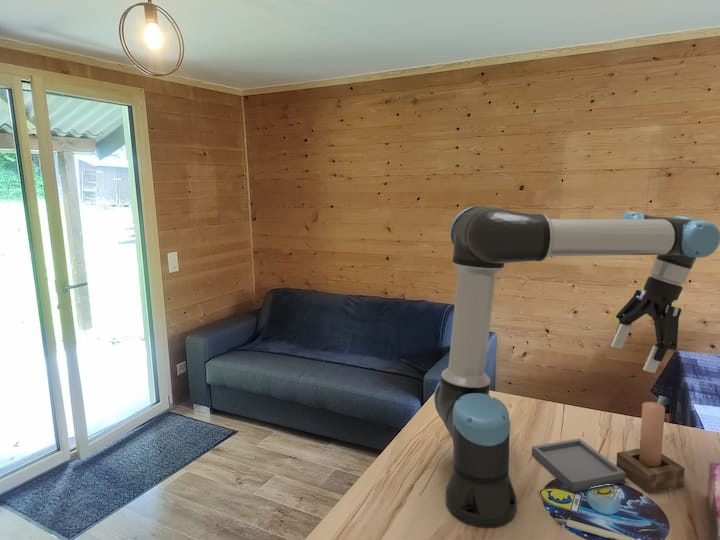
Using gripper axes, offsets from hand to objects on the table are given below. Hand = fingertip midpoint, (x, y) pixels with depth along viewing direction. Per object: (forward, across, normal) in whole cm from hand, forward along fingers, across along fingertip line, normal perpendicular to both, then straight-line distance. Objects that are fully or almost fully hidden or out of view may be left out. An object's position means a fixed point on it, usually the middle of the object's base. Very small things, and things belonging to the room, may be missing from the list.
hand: (631, 358), depth 121 cm
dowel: (+23, -14, -5) cm, 28 cm away
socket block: (+23, -14, -5) cm, 28 cm away
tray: (+28, -9, +9) cm, 31 cm away
